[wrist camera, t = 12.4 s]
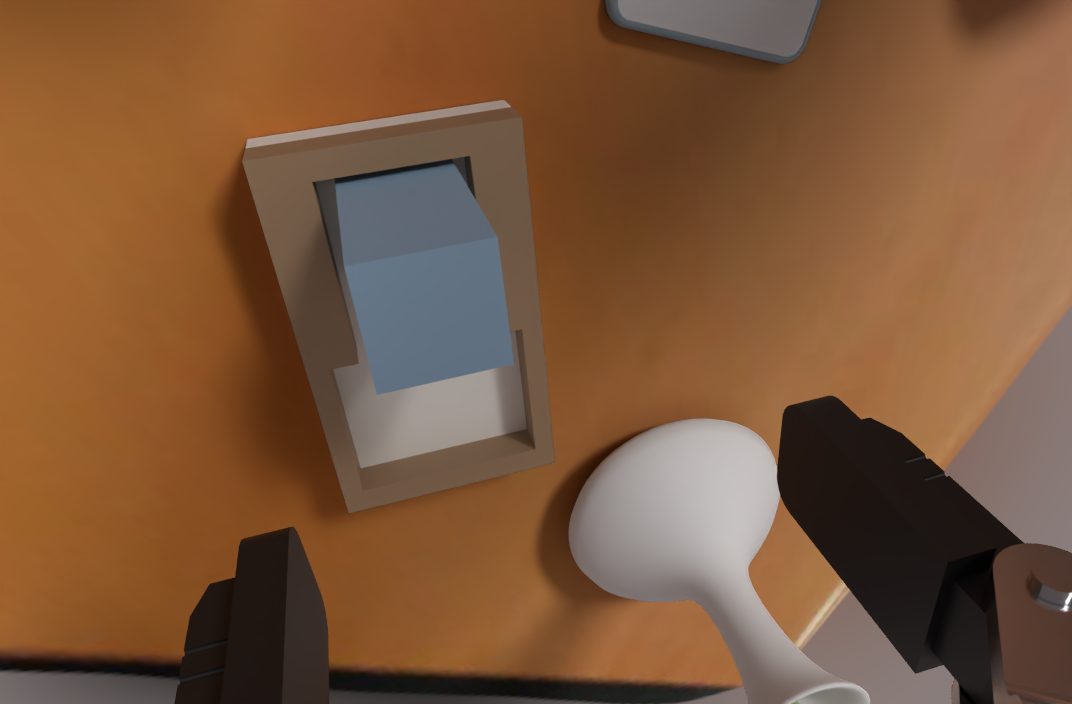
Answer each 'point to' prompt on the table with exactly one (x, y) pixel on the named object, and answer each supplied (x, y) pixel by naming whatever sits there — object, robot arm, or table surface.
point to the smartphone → (724, 24)
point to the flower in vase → (698, 544)
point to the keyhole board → (331, 322)
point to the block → (422, 275)
